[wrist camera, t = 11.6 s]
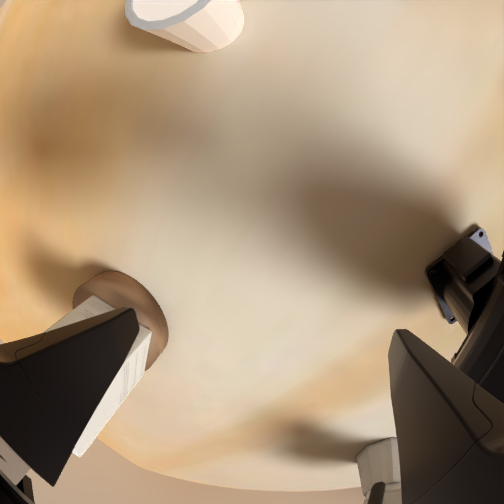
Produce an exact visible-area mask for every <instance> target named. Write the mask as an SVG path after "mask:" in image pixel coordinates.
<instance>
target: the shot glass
mask: <svg viewBox="0 0 504 504" xmlns="http://www.w3.org/2000/svg"><path fill="white" fill-rule="evenodd" d="M125 16H126V18H127V19H128V21H129V22H130V24H131V25H132V26H135V27H137V28H140V29H142V30H145V31H147V32H150V33H152V34H155V35H157V36H160V37H162V38H164V39H167V40H169V41H171V42H174V43H176V44H178V45H180V46H182V47H185V48H187V49H189V50H191V51H193V52H199V53H209V52H213V51H216V50H220V49H222V48H224V47H225V46H227V45H228V44H230V43H232V42H233V41H234V40H235V39H236V37H237V36H238V35H239V34H240V33H241V31H242V28H243V25H244V22H245V21H244V15H243V11H242V8H241V6H240V3H239V0H126V1H125Z"/></svg>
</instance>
